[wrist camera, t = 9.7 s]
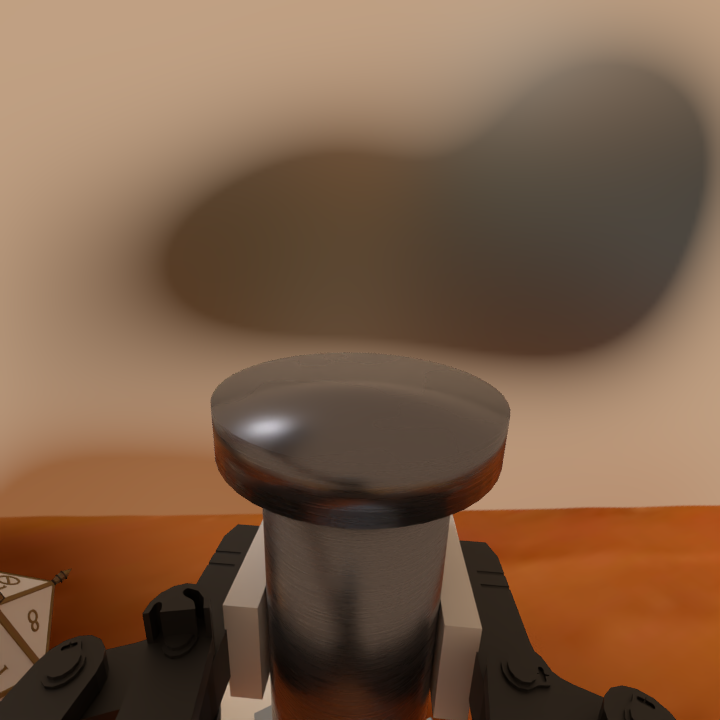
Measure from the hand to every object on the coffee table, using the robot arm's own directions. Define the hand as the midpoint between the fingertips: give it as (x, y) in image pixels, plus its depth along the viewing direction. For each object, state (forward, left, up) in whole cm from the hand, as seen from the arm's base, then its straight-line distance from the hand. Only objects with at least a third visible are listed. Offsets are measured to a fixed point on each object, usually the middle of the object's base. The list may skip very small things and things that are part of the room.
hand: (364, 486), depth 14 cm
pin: (+5, -3, -8) cm, 10 cm away
